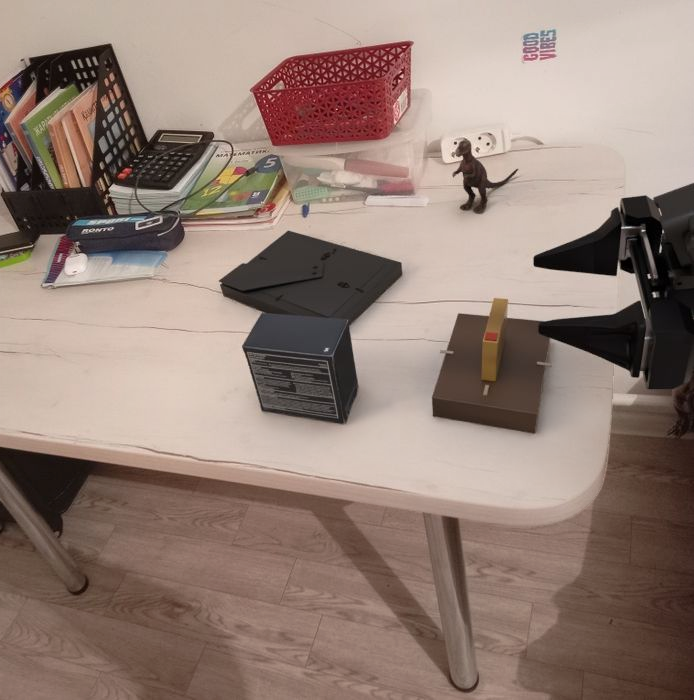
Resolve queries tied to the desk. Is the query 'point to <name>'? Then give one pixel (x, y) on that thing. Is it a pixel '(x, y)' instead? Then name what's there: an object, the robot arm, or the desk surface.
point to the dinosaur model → (474, 177)
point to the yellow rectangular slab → (494, 339)
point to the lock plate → (511, 383)
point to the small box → (302, 366)
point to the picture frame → (311, 279)
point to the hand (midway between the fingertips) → (535, 292)
